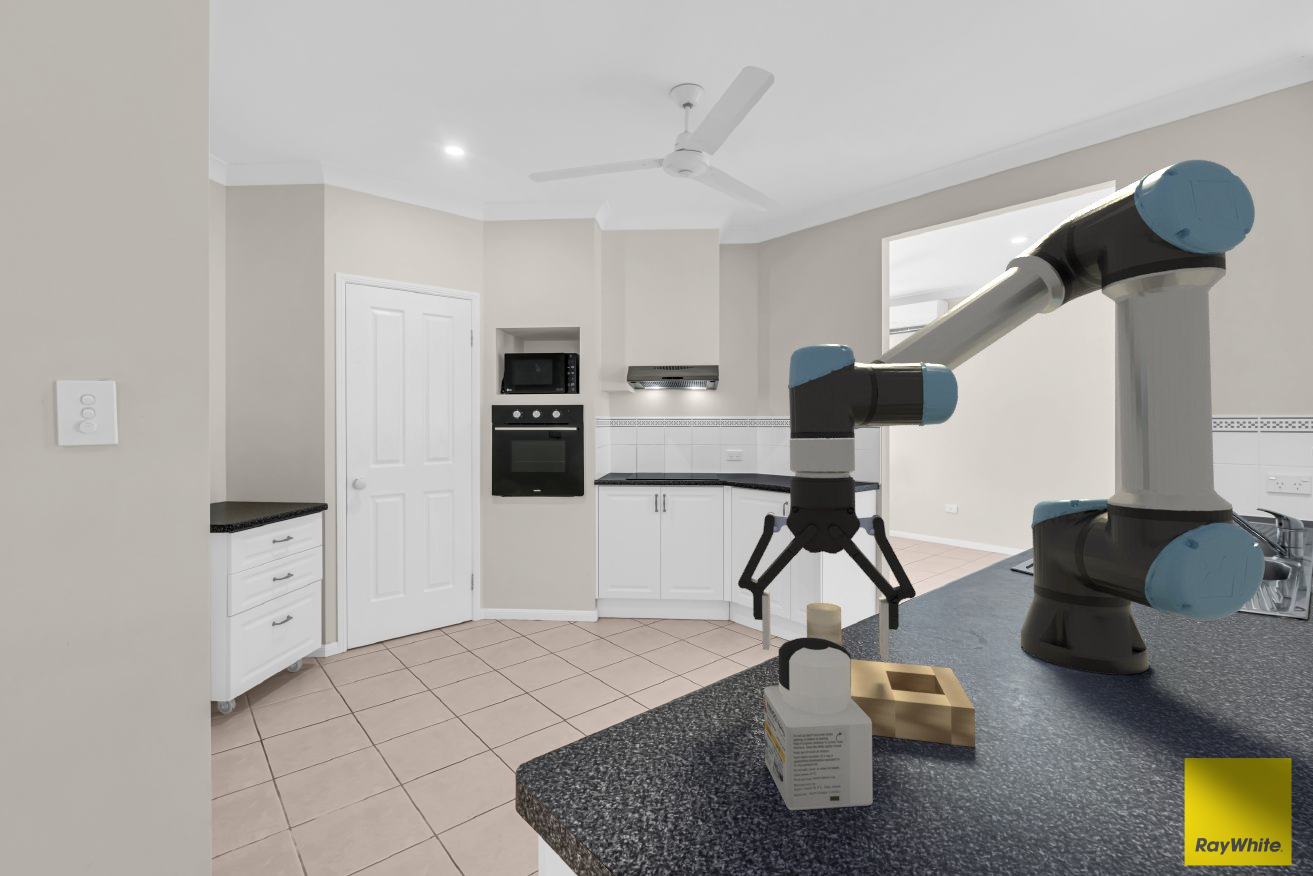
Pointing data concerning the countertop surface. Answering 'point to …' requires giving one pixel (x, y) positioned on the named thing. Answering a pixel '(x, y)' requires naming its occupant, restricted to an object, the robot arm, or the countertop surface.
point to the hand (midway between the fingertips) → (823, 651)
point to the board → (913, 702)
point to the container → (817, 729)
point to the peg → (824, 622)
